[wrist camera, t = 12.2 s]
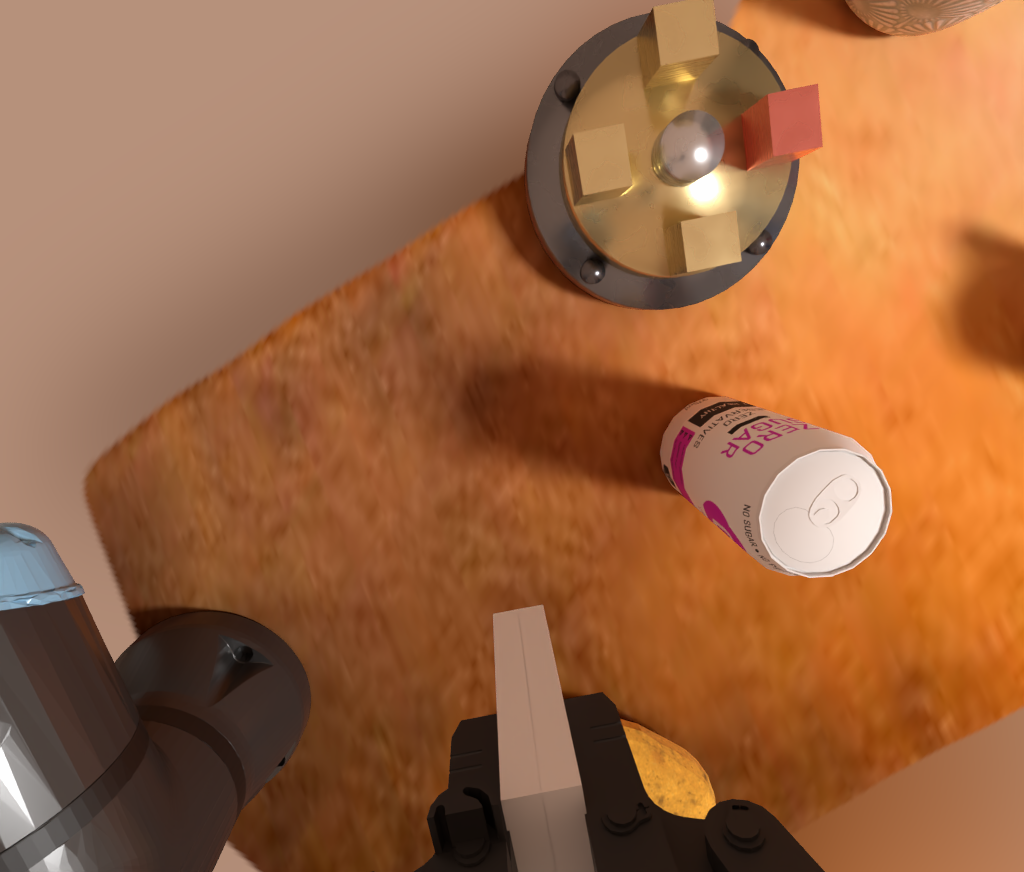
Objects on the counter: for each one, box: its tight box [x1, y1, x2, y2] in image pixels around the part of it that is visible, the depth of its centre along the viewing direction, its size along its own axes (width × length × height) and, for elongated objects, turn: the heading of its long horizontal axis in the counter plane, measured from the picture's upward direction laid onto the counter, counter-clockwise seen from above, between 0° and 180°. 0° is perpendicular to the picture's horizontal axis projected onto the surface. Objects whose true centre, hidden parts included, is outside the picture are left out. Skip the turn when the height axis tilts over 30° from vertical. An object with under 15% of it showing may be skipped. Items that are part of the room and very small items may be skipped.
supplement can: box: [660, 397, 892, 578], centre depth 36 cm, size 8×8×15 cm
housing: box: [524, 13, 799, 310], centre depth 36 cm, size 18×18×8 cm
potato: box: [620, 719, 716, 819], centre depth 45 cm, size 8×14×7 cm, turn 59°
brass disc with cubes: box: [559, 0, 823, 279], centre depth 34 cm, size 14×14×6 cm
